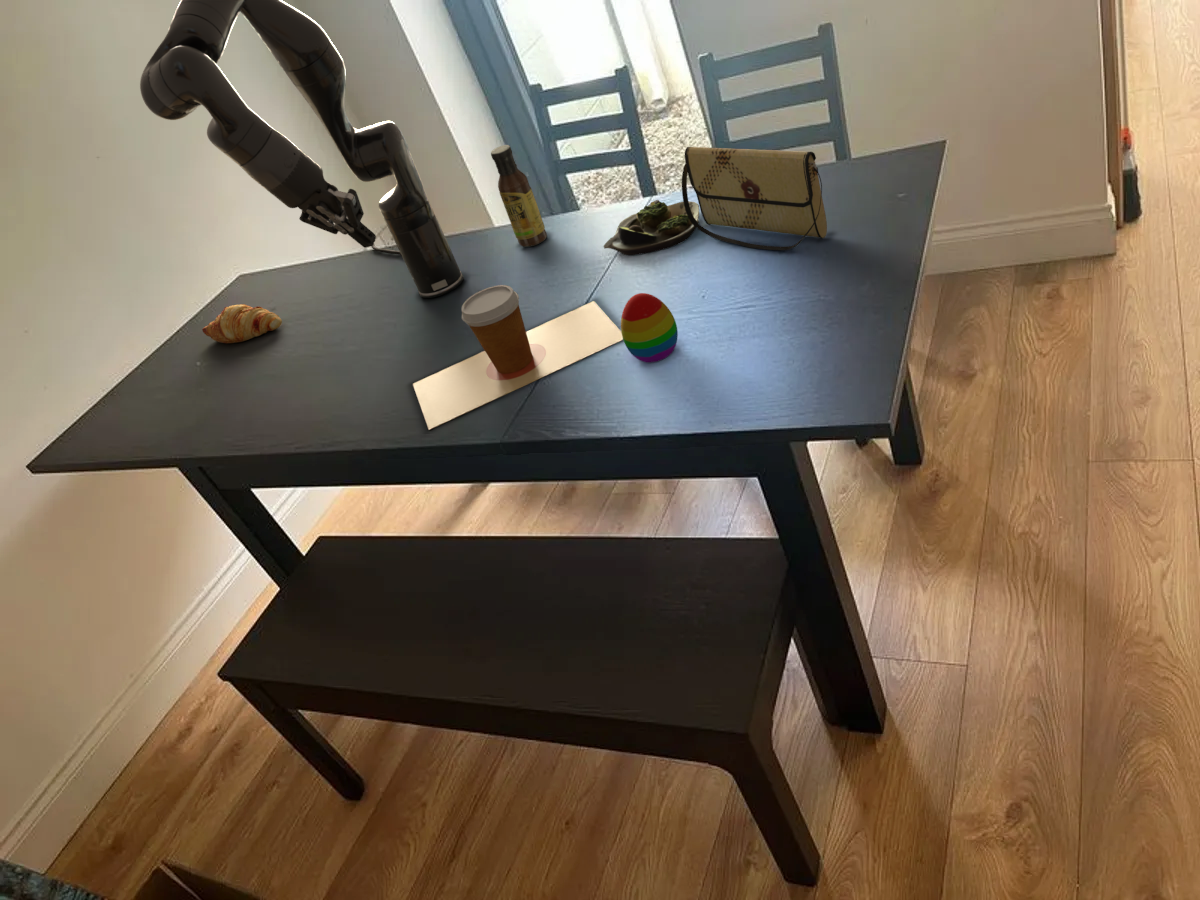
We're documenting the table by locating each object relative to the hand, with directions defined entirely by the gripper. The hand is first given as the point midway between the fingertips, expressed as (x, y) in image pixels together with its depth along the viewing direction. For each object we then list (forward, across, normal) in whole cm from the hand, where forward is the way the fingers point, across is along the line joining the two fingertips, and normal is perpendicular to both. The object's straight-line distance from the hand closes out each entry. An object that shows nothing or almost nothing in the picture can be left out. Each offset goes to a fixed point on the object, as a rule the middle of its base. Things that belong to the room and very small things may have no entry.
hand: (371, 242), depth 146 cm
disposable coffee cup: (+26, -11, +7) cm, 29 cm away
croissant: (+18, +68, -4) cm, 70 cm away
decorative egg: (+31, -35, +5) cm, 47 cm away
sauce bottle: (+39, +13, -33) cm, 53 cm away
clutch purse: (+45, -38, -27) cm, 65 cm away
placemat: (+26, -11, +7) cm, 29 cm away
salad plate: (+43, -16, -32) cm, 56 cm away
